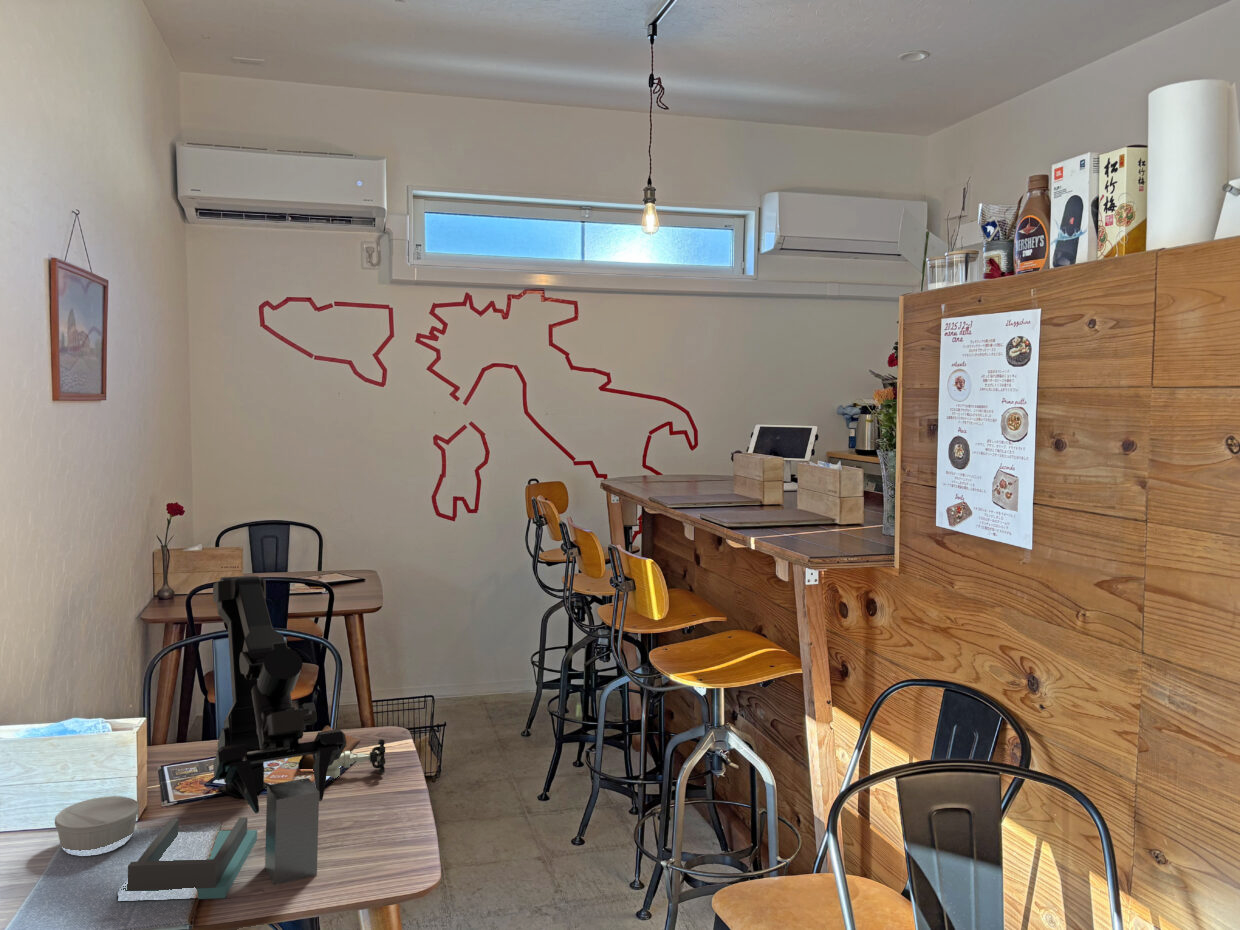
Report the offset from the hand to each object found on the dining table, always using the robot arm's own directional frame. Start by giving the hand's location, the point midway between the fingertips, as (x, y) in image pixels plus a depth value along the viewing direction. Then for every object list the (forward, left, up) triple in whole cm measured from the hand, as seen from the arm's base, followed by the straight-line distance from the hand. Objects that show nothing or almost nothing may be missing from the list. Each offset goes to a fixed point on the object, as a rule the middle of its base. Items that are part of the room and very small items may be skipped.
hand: (289, 806), depth 134 cm
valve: (-19, +30, -10) cm, 37 cm away
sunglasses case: (-30, +34, -10) cm, 47 cm away
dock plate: (-11, -9, -9) cm, 16 cm away
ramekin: (-29, -12, -10) cm, 33 cm away
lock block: (+2, -1, -9) cm, 9 cm away
